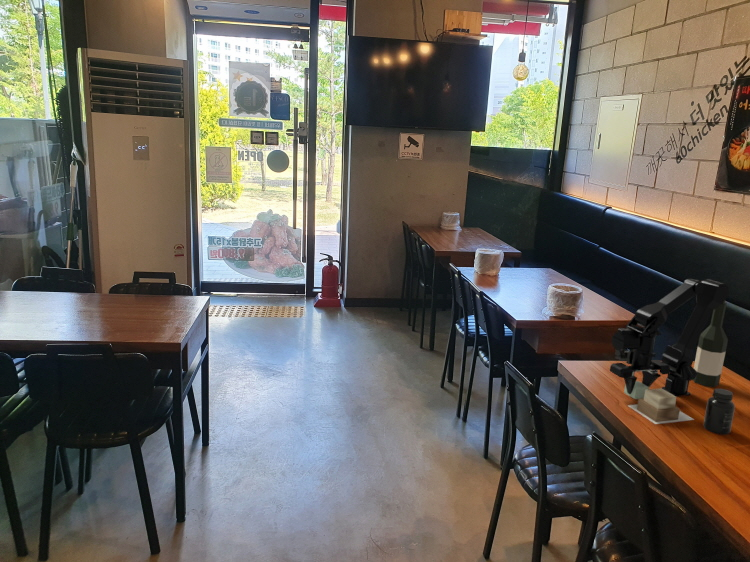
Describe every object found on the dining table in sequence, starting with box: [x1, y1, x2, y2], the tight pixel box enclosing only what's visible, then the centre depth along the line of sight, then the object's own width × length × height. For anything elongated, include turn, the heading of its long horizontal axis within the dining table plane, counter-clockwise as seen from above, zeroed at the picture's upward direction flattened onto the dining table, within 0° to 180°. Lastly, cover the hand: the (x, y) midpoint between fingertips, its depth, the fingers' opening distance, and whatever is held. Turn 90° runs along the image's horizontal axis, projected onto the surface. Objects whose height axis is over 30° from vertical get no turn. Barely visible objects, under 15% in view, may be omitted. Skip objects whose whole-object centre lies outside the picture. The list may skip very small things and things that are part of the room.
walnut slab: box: [636, 398, 681, 422], centre depth 170 cm, size 8×8×4 cm
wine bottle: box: [692, 300, 729, 388], centre depth 193 cm, size 8×8×30 cm
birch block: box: [643, 387, 678, 409], centre depth 169 cm, size 6×6×4 cm
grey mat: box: [627, 403, 695, 425], centre depth 171 cm, size 14×12×1 cm
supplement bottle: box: [703, 388, 736, 436], centre depth 161 cm, size 7×7×12 cm
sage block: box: [623, 380, 650, 400], centre depth 182 cm, size 5×5×4 cm
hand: (636, 393), depth 183 cm, fingers closed on sage block, 5 cm apart
